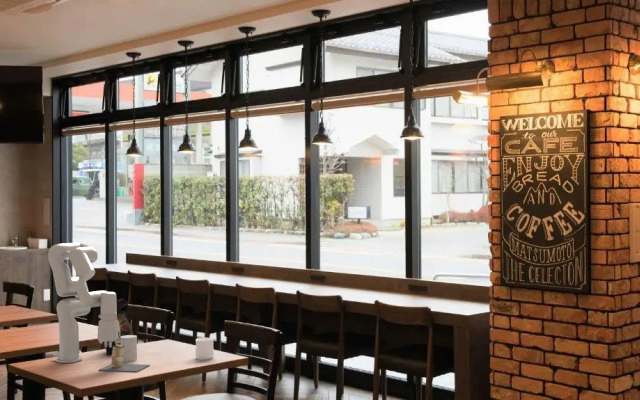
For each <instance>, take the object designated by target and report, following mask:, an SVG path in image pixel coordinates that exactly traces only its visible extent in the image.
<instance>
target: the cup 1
mask: <svg viewBox="0 0 640 400" xmlns="http://www.w3.org/2000/svg"><path fill="white" fill-rule="evenodd" d="M120 344H121V345H124V355H123V363H128V362H135V360H136V361H138V336H137V335H134V334H133V335H126V336H121V337H120Z"/></svg>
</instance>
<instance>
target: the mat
mask: <svg viewBox="0 0 640 400" xmlns="http://www.w3.org/2000/svg"><path fill="white" fill-rule="evenodd" d="M150 366H151V364H139V363H138V364H137V363H136V364H135V363H133V364H132V363H123V365H122V367H120V368H116V367H111V363H110V364H108V365H107V366H104V367H102V368H99V369H98V372H114V371H116V372H119V373H120V372H121V373H139V372H141V371H143V370H145V369H146V368H148V367H150ZM116 372H115V373H116Z"/></svg>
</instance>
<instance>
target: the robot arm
mask: <svg viewBox="0 0 640 400" xmlns="http://www.w3.org/2000/svg"><path fill="white" fill-rule="evenodd" d="M47 258H48V259H47V260H48V263H49V265H50V267H51V270H52V275H53V280H54V285H55V289H56V294H57V295H58V296H59V297H61V298H62V297H63V299H62V300H59V302H58V303H57V304H56V313H57V318H58V319H57V320H58V333H59V334H58V337H59V338H58V339H59V340H58V345H59V351H58V352H57V351H54V352H53V355H52V356H53V357H57V358H56V363H61V364H68V363H69V364H70V363H78V362H80V361H83V356H81V355H80V340H79V339H80V332H79V331H80V330H79V323H78V321H77V319H75V318H76V317H80V316H81V317H82V316H87V315H88V314H89V313H90V312H91V308H96V307H100V314H98V318H99V319H100V320H99V321H98V326H97V340H98V343H99V344H103V346H104V348H105V354H106V356H107V357H108V356H111V357H112V353H113V346H114V345H115V344H117V343H120V327H119V322H118V320H117V303H116V298H117V293H116V292H114V291H107V290H96V291H89V288H88V284H87V281H89V280H91V279H92V278H93V277H94V276H95V274H96V270H95V268H94V265H93V263H95V262H97V260H98V251H97V250H96V248H95V247H93V246H91V245H87V244H85V243H82V242H67V243H66V242H65V243H57V244H53V245H52V246H50V248H49V250H48V255H47ZM66 260H67V261H68V260H70V263H71V265H72V267H73V269H74V271H75V274H76V275H77V276H72V273H71V268H70V267H69V265H68V264H67V263H66V262H65V261H66ZM72 296H73V297H72ZM65 297H70V298H65ZM64 298H65V299H64ZM109 341H110V344H109Z"/></svg>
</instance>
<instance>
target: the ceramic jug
mask: <svg viewBox="0 0 640 400" xmlns="http://www.w3.org/2000/svg"><path fill="white" fill-rule="evenodd" d="M116 303H117V320H118V322H119V327H120V337H121V336H126V335H134V333H133V329H132V326H131V324H130V323H129V321H128V320H127V318H126V317H125V315H123V313H122V310H121V309H122V308H123V307H125V306H126V305H128V304H129V303H128V301H127V300H126V299H125V298H120V299H118V298H117V297H116ZM109 344H110V341H109ZM117 344H118V345H121V344H120V343H117ZM117 344H115V345H117Z"/></svg>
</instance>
